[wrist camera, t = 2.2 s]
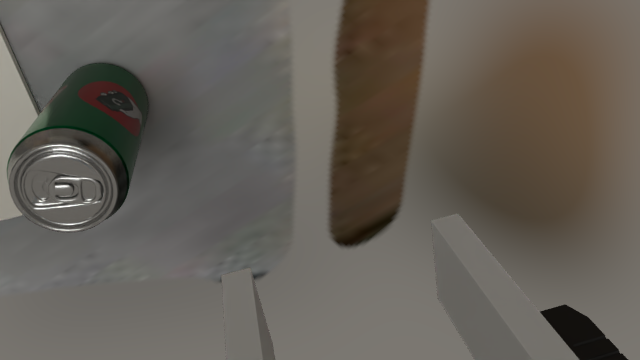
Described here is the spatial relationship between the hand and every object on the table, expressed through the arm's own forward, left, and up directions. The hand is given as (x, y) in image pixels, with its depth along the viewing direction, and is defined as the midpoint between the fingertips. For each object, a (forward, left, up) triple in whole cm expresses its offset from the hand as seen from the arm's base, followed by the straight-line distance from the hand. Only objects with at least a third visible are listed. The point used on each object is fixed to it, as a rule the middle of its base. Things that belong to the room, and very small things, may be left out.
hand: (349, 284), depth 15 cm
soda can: (-10, 0, -23) cm, 25 cm away
